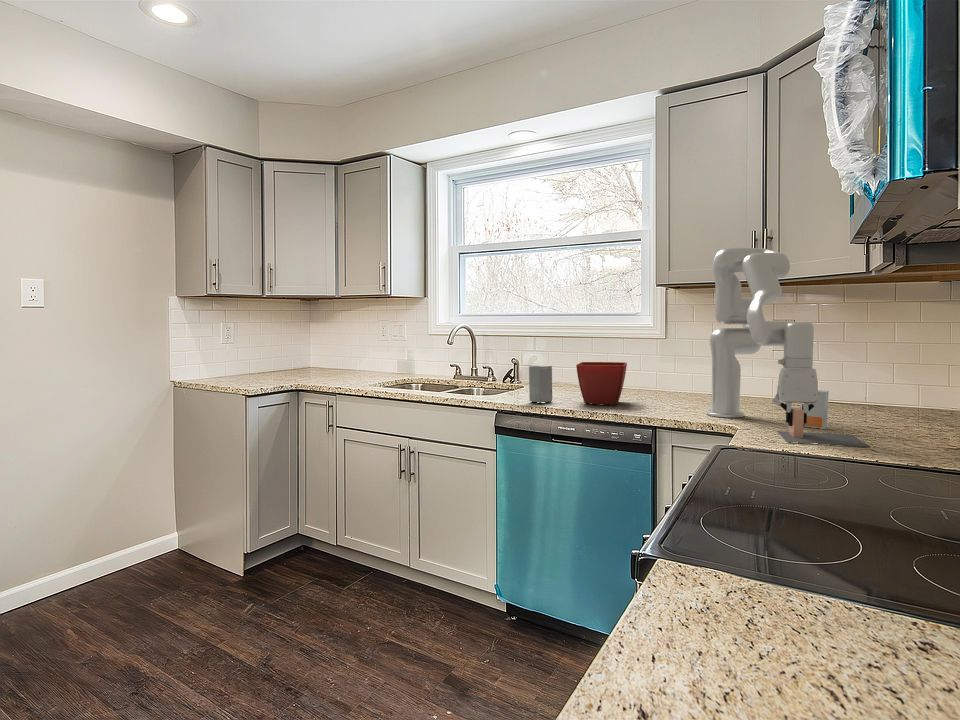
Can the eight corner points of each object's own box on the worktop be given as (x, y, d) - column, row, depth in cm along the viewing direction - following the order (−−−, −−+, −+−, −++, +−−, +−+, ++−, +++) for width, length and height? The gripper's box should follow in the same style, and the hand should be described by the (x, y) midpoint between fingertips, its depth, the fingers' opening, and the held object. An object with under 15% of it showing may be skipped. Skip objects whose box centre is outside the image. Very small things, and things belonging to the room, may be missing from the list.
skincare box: (802, 427, 182) (803, 390, 181) (806, 425, 185) (807, 389, 184) (823, 429, 177) (825, 392, 176) (827, 427, 180) (828, 390, 179)
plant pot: (581, 399, 248) (582, 361, 247) (626, 401, 242) (627, 362, 241) (575, 405, 230) (575, 364, 229) (623, 407, 224) (624, 365, 223)
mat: (777, 432, 174) (777, 431, 174) (851, 436, 167) (851, 434, 167) (787, 443, 158) (787, 441, 158) (870, 447, 152) (870, 446, 152)
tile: (788, 432, 171) (789, 406, 171) (797, 432, 170) (798, 406, 170) (793, 437, 164) (794, 410, 164) (803, 437, 164) (803, 410, 163)
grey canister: (540, 404, 234) (540, 366, 233) (527, 402, 239) (527, 365, 238) (553, 402, 239) (553, 365, 238) (540, 400, 245) (541, 364, 243)
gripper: (769, 364, 165) (768, 426, 166) (832, 365, 160) (830, 429, 161) (765, 362, 172) (763, 422, 173) (825, 363, 167) (823, 424, 168)
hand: (795, 425), depth 167 cm, fingers closed on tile, 2 cm apart
